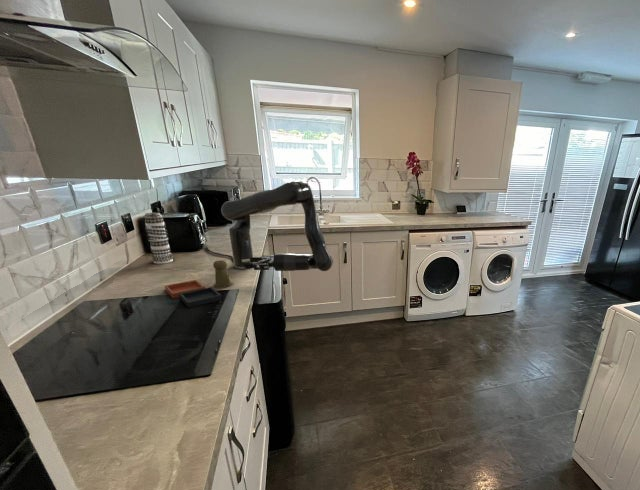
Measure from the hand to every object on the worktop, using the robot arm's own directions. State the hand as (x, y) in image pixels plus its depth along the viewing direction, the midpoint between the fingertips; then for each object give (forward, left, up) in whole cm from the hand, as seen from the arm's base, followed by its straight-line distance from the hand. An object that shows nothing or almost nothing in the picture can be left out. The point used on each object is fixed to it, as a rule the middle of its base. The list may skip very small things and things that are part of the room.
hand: (247, 262), depth 139 cm
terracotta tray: (-10, -23, -10) cm, 27 cm away
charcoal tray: (+3, -21, -10) cm, 23 cm away
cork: (-7, -9, -11) cm, 16 cm away
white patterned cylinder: (-62, -20, -11) cm, 66 cm away
